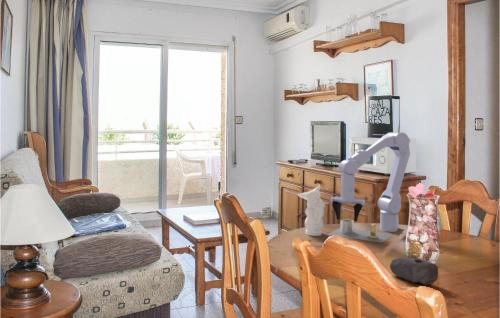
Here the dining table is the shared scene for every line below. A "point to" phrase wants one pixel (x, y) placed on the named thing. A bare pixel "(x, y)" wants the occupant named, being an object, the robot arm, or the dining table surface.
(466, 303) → the dining table surface
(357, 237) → the post board
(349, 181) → the robot arm
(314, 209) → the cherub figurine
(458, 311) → the dining table surface
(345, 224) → the steel collar
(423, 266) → the perforated stone tool
